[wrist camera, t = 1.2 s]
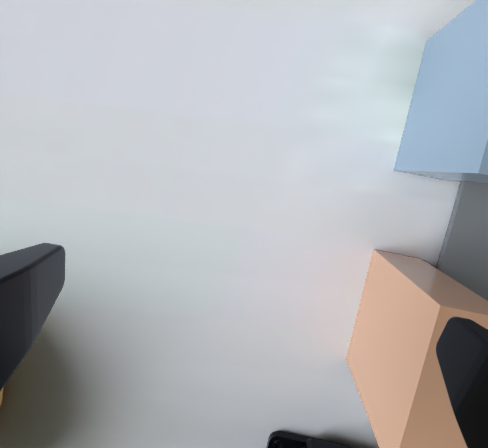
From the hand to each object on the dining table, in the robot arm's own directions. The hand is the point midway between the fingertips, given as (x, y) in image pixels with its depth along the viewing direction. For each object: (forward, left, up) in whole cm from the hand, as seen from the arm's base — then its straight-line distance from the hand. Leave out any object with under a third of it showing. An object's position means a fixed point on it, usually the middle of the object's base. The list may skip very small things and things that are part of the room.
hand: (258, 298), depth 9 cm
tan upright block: (-3, -7, -11) cm, 13 cm away
